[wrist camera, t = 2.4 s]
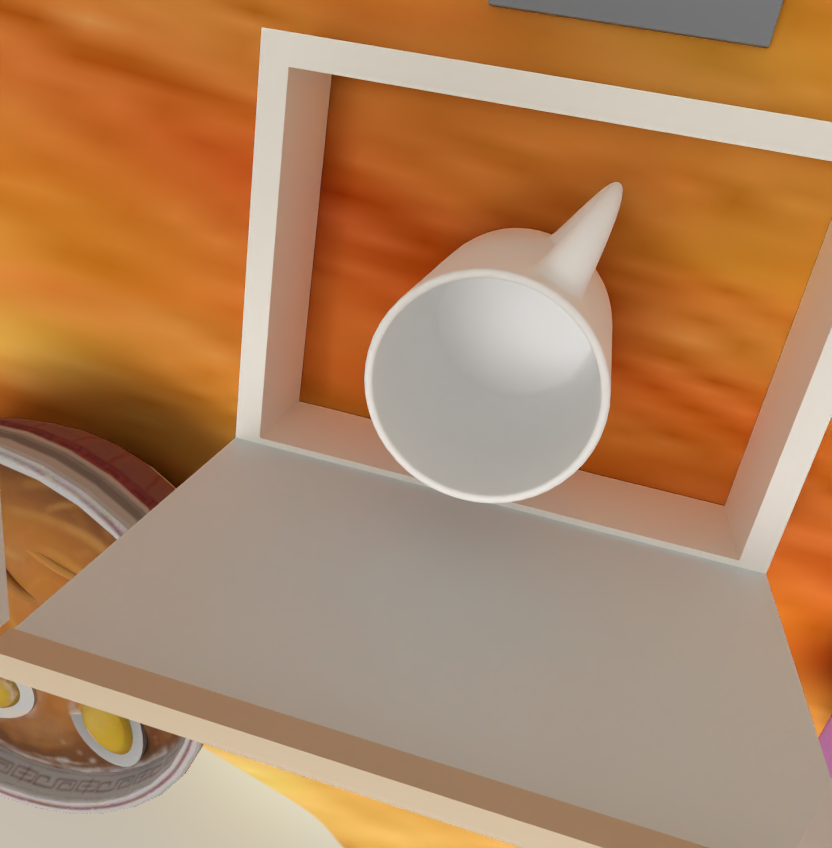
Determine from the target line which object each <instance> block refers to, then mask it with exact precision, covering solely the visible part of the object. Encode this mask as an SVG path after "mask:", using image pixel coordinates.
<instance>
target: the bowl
mask: <svg viewBox="0 0 832 848" xmlns="http://www.w3.org/2000/svg"><path fill="white" fill-rule="evenodd" d="M175 489H176V488H175V487H174V486H173V485H172V484H171V483H170V482H169V481H167V480H166V479H165V478H164V477H163V476H162V475H161V474H159V473H158V472H157V471H156V470H155V469H154V468H153V467H151V466H149V465H148V464H146V463H145V462H143V461H142V460H140V459H139V458H137V457H135V456H134V455H132V454H131V453H129V452H127V451H126V450H124V449H123V448H121V447H120V446H118V445H116V444H115V443H112V442H110V441H108V440H105V439H103V438H101V437H98V436H96V435H93V434H91V433H89V432H86V431H84V430H80V429H76V428H71V427H67V426H63V425H58V424H54V423H49V422H43V421H37V420H31V419H25V418H0V501H1V514H2V526H3V539H4V552H5V565H6V578H7V590H8V603H9V616H10V619H9V620H8V621H7V622H6V623H5V624H3V625H2V626H1V627H0V636H1V635H2V634H3V633H5V632H6V631H7V630H8V629H9V628H13V629H14V628H15V627H17V626H18V625H19V624H20V623H21V622H22V621H23V620H25V619H26V618H27V617H28V616H29V615H30V614H32V613H33V612H34V611H35V610H36V609H37V608H39V607H40V606H41V605H42V604H43V603H44V602H45V601H47V600H48V599H49V598H50V597H51V596H52V595H54V594H55V593H56V592H57V591H58V590H59V589H61V588H62V587H63V586H64V585H65V584H66V583H68V582H69V581H70V580H71V579H72V578H73V577H74V576H76V575H77V574H78V573H79V572H80V571H81V570H83V569H84V568H85V567H86V566H87V565H88V564H90V563H91V562H92V561H93V560H94V559H95V558H96V557H98V556H99V555H100V554H101V553H102V552H103V551H105V550H106V549H107V548H108V547H109V546H110V545H112V544H113V543H114V542H115V541H116V540H117V539H118V538H120V537H121V536H122V535H123V534H124V533H125V532H127V531H128V530H129V529H130V528H131V527H132V526H134V525H135V524H136V523H137V522H138V521H139V520H141V519H142V518H143V517H144V516H145V515H146V514H147V513H149V512H150V511H151V510H152V509H153V508H154V507H156V506H157V505H158V504H159V503H160V502H161V501H163V500H164V499H165V498H166V497H167V496H168V495H169V494H171V493H172V492H173V491H174V490H175ZM202 746H203V743H200V742H197V741H194V740H191V739H188V738H185V737H181V736H178V735H175V734H172V733H169V732H166V731H163V730H160V729H157V728H154V727H151V726H148V725H145V724H142V723H139V722H136V721H133V720H129V719H126V718H123V717H120V716H117V715H114V714H111V713H108V712H105V711H102V710H99V709H96V708H93V707H90V706H87V705H84V704H81V703H78V702H74V701H71V700H68V699H65V698H62V697H59V696H56V695H53V694H50V693H47V692H44V691H41V690H38V689H35V688H32V687H29V686H26V685H22V684H19V683H16V682H13V681H10V680H7V679H4V678H1V677H0V796H2V797H5V798H8V799H11V800H14V801H17V802H21V803H24V804H26V805H30V806H33V807H36V808H41V809H47V810H53V811H59V812H65V813H107V812H112V811H116V810H121V809H126V808H131V807H136V806H138V805H140V804H142V803H144V802H146V801H148V800H150V799H152V798H154V797H157V796H159V795H161V794H163V793H164V792H165V791H166V790H167V789H168V788H169V787H170V786H172V784H174V783H175V782H176V781H177V780H179V779H180V778H181V777H182V776H183V775H184V774H185V773H186V772H187V770H188V769H189V767H190V765H191V764H192V762H193V761H194V759H195V757H196V756H197V754H198V752H199V751H200V749H201V748H202Z"/></svg>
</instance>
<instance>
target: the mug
mask: <svg viewBox="0 0 832 848" xmlns="http://www.w3.org/2000/svg"><path fill="white" fill-rule="evenodd" d="M622 194H623V188H622V185H621V184H620V183H619V182H613V183H611V184H609V185H607V186H606V187H604V188H603V189H602V190H601V191H599V192H598V193H597V194H596V195H595V196H593V197H592V198H591V199H590V200H589V201H588V202H587V203H586V204H585V205H584V206H582V207H581V208H580V209H579V210H578V211H577V212H576V213H575V214H574V215H573V216H572V217H571V218H570V219H569V220H568V221H567V222H566V223H565V224H563V225H562V226H561V227H560V228H559V229H558V230H557V231H556V232H555V233H553V234H550V233H546V232H543V231H539V230H534V229H528V228H506V229H499V230H495V231H491V232H488V233H485V234H483V235H480V236H478V237H475V238H473V239H472V240H470V241H468V242H467V243H465V244H463V245H462V246H461V247H459V248H458V249H457V250H455V251H454V252H453V253H452V254H450V255H449V256H448V257H447V258H446V259H445V260H444V261H442V262H441V263H440V264H439V265H438V266H437V267H436V268H435V269H433V270H432V271H431V272H430V273H429V274H428V275H427V276H425V277H424V278H423V279H422V280H421V281H420V282H419V283H417V284H416V285H415V286H414V287H413V288H412V289H411V290H410V291H408V292H407V293H406V294H405V295H404V296H403V297H402V298H400V299H399V300H398V302H397V303H396V304H395V305H394V306H393V307H392V308H391V309H390V310H389V311H388V313H387V314H386V315H385V317H384V318H383V319H382V321H381V322H380V324H379V326H378V328H377V330H376V332H375V334H374V336H373V338H372V341H371V344H370V347H369V350H368V354H367V359H366V363H365V375H364V383H365V396H366V401H367V406H368V410H369V413H370V416H371V419H372V422H373V425H374V427H375V429H376V431H377V433H378V435H379V437H380V439H381V440H382V442H383V444H384V445H385V447H386V448H387V450H388V451H389V452H390V453H391V455H392V456H393V457H394V458H395V460H396V461H397V462H398V463H399V464H400V465H401V466H402V467H403V468H404V469H405V470H407V471H408V472H409V473H410V474H412V475H413V476H414V477H415V478H417V479H418V480H419V481H421V482H423V483H424V484H426V485H428V486H429V487H431V488H433V489H435V490H437V491H440V492H442V493H444V494H446V495H449V496H452V497H455V498H459V499H463V500H467V501H472V502H481V503H507V502H513V501H520V500H523V499H527V498H531V497H534V496H537V495H539V494H541V493H544V492H546V491H548V490H550V489H552V488H554V487H555V486H557V485H559V484H561V483H562V482H564V481H565V480H566V479H567V478H569V477H570V476H571V475H573V474H574V473H575V472H576V471H577V470H578V469H579V468H580V467H581V466H582V465H583V464H584V463H585V461H586V460H587V459H588V457H589V456H590V455H591V453H592V452H593V451H594V449H595V447H596V445H597V443H598V441H599V440H600V438H601V436H602V433H603V430H604V428H605V425H606V422H607V417H608V413H609V408H610V396H611V362H612V312H611V305H610V301H609V296H608V293H607V290H606V288H605V285H604V282H603V281H602V279H601V277H600V275H599V274H598V272H597V270H596V266H597V264H598V262H599V259H600V257H601V255H602V253H603V250H604V248H605V246H606V243H607V241H608V238H609V236H610V233H611V231H612V228H613V225H614V223H615V220H616V217H617V214H618V211H619V208H620V204H621V200H622Z"/></svg>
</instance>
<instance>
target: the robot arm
mask: <svg viewBox="0 0 832 848" xmlns="http://www.w3.org/2000/svg"><path fill="white" fill-rule="evenodd" d="M9 619H10V616H9V603H8V590H7V578H6V565H5V552H4V539H3V526H2V514H1V501H0V627H1V626H2V625H3V624H5V623H6V622H7V621H8V620H9ZM797 848H832V782H831V784H830V786H829V788H828V790H827V792H826V793H825V795H824V797H823V799H822V801H821V803H820V805H819V807H818V808H817V810H816V812H815V814H814V816H813V818H812V820H811V822H810V823H809V825H808V827H807V829H806V831H805V833H804V835H803V837H802V838H801V840H800V842H799V844H798V846H797Z"/></svg>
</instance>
